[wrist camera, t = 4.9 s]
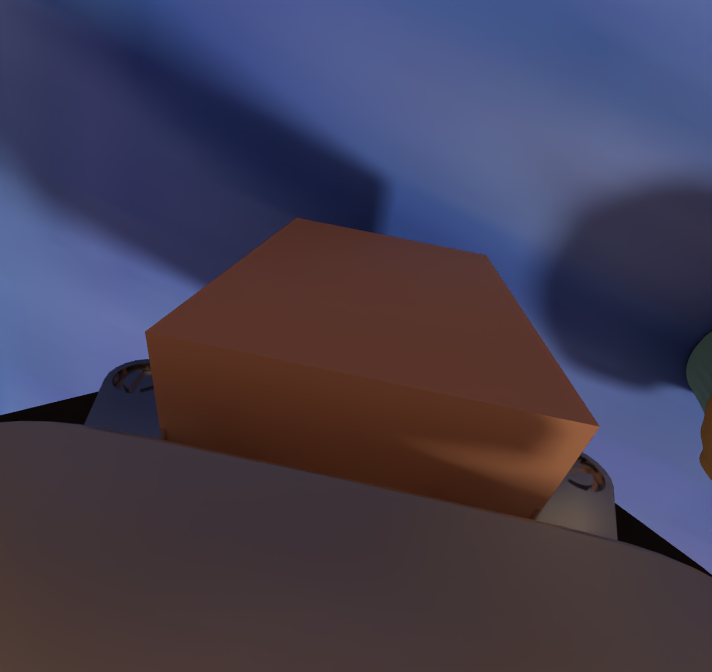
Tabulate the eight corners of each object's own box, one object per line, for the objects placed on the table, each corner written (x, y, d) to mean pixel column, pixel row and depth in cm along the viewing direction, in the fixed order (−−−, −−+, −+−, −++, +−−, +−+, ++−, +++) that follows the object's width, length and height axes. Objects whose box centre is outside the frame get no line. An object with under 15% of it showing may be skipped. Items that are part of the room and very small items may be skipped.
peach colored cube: (296, 217, 12) (144, 331, 5) (486, 255, 12) (599, 426, 5) (284, 371, 15) (181, 570, 8) (433, 402, 15) (456, 632, 8)
